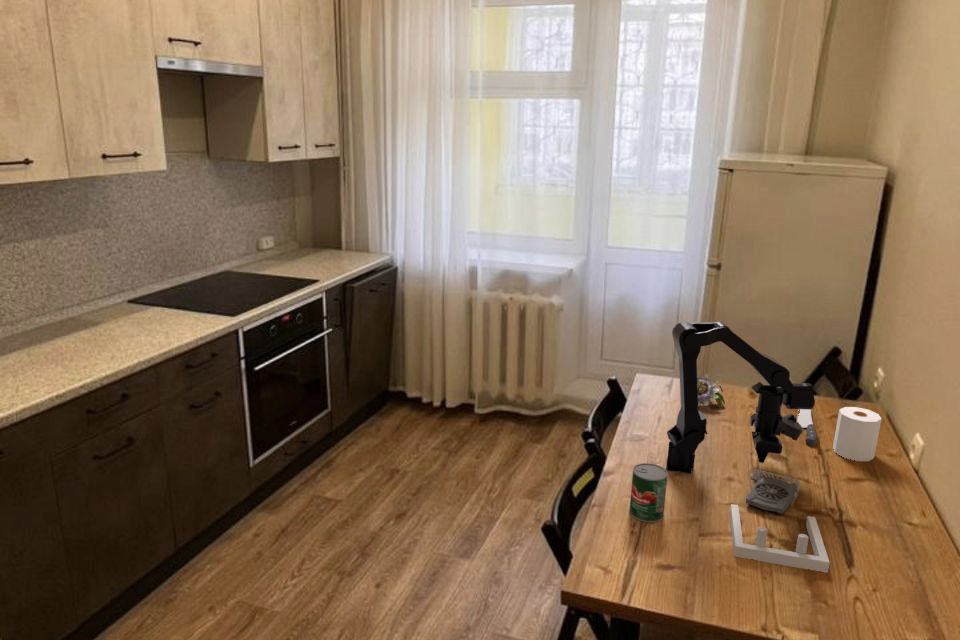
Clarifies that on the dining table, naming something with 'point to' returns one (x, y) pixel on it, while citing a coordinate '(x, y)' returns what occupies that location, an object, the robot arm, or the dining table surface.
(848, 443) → the toilet paper
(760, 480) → the graphics card
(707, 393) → the passion flower
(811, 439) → the kitchen knife
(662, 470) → the canned tomato
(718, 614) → the dining table surface
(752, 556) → the u-shaped peg rack
